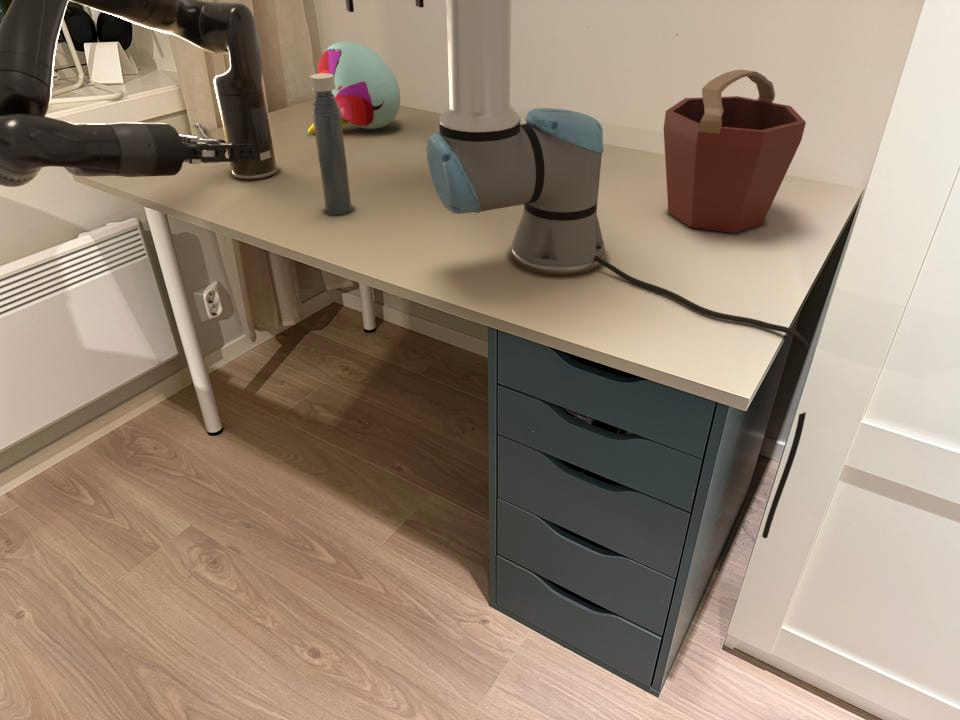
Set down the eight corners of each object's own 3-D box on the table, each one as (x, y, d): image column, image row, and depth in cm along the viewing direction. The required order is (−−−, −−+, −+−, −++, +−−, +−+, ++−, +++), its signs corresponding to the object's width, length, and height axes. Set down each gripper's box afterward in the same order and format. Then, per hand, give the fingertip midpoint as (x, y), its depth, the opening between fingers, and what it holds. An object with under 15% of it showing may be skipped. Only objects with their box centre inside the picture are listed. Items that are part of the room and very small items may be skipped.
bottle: (324, 207, 136) (306, 76, 123) (349, 204, 138) (334, 74, 124) (327, 216, 133) (309, 82, 119) (353, 213, 134) (338, 80, 120)
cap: (310, 87, 124) (308, 74, 122) (333, 85, 125) (331, 72, 123) (313, 92, 120) (311, 79, 119) (336, 90, 121) (334, 77, 120)
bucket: (710, 250, 119) (740, 96, 105) (622, 208, 134) (638, 69, 120) (804, 218, 129) (843, 75, 115) (713, 183, 145) (736, 53, 131)
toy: (277, 110, 181) (275, 51, 163) (352, 72, 191) (358, 13, 173) (336, 175, 178) (341, 122, 160) (410, 134, 188) (421, 79, 170)
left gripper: (163, 126, 97) (264, 127, 109) (114, 119, 105) (213, 121, 117) (168, 182, 99) (266, 177, 111) (120, 171, 108) (216, 168, 120)
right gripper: (436, -128, 128) (441, 2, 140) (298, -127, 121) (316, 10, 133) (450, -128, 123) (454, 7, 134) (306, -128, 115) (324, 15, 127)
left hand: (239, 149), depth 114 cm, fingers open, 8 cm apart
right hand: (385, 9), depth 134 cm, fingers open, 13 cm apart
